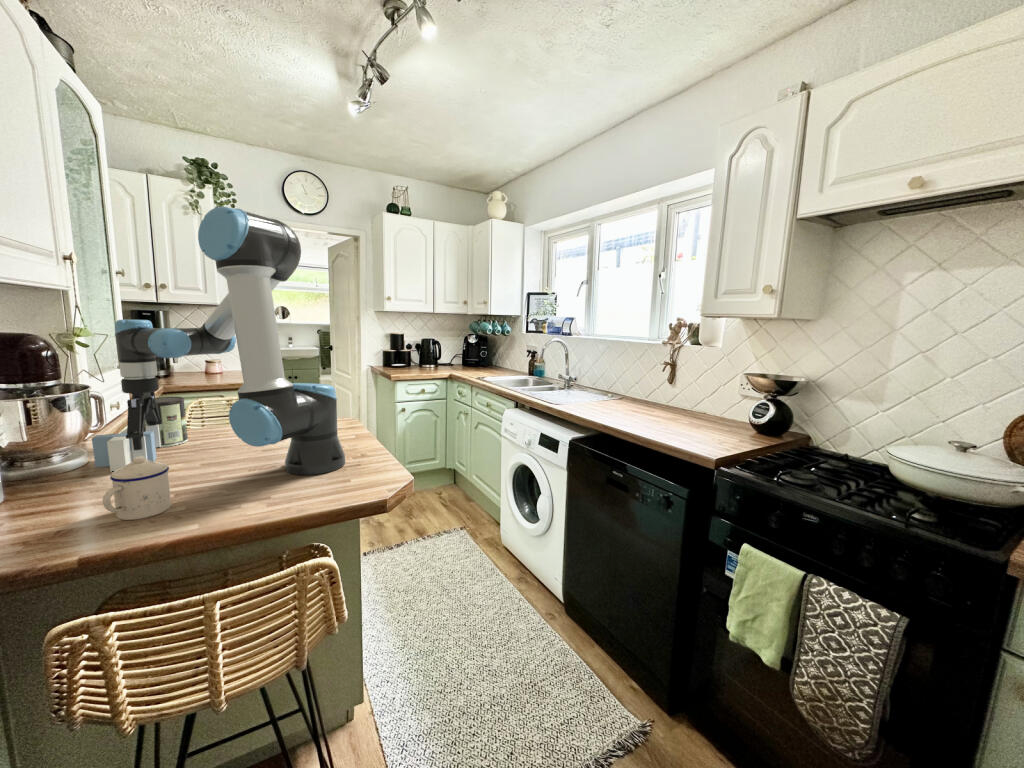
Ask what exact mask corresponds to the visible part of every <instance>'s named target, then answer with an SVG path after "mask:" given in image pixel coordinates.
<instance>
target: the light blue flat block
mask: <svg viewBox="0 0 1024 768" xmlns="http://www.w3.org/2000/svg"><path fill="white" fill-rule="evenodd" d="M126 435H127V433H121V432H120V433H108V434H96V435H94V436H92V437H91V444H92V450H93V452H92V453H93V458H94V465H95V468H103V467H110V463H109V455H108V447H107V442H108V441H109V440H110V439H112V438H113V437H122V436H126ZM143 436H145V442H146V451H147V460H150V461H153V462H155V461H156V460H157V452H156V451H157V450H156V448H155V439H154V431H146V430H145V431H144V433H143ZM129 443H130V450H131V449H132V445H131V438H129Z"/></svg>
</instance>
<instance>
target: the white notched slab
mask: <svg viewBox="0 0 1024 768" xmlns="http://www.w3.org/2000/svg"><path fill="white" fill-rule="evenodd" d="M120 433H127V428H125V429H123V430H122V431H121V432H120ZM107 447H108V455H109V463H110V466H109V469H110V470H109V471H110V472H111V473H113V472H112V471H115V470H117V469H119V468H122V467H124V466H126V465H127V464H129V463H132V462H133V454H132V449H131V450H130V443H129V439H126V436H122V437H113V438H112V439H110V440H109V441H108V442H107Z"/></svg>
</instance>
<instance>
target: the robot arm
mask: <svg viewBox="0 0 1024 768" xmlns="http://www.w3.org/2000/svg"><path fill="white" fill-rule="evenodd" d="M197 237H198V238H197V240H198V245H199V247H200V250H201V251H202V252H203V253H204V255H205V256H206V257H208V258H209V259H211V260H212V261H215V262H214V263H215V266H216V273H218V274H220V276H222V277H223V278H225V279H226V284H227V291H228V292H227V294H226V295H225V297H224V298H223V299H221V302H220V303H219V304H218V306H217V307H216V308H215V309H214V310H213V311H212V313H211V314H210V315H209V317H208V318H207V319H206V321H205V322H204V323H203V324H202V325H201V326H200V327H171V328H169V327H168V328H166V327H165V328H162V327H161V328H159V327H158V328H157V327H153V323H152V321H151V320H148V319H118V320H116V321H115V323H114V329H115V332H114V337H115V342H116V343H115V344H116V350H117V358H118V362H119V363H118V365H116V368H117V369H118V370H119V373H120V377H121V378H122V379H121V380H120V385H121V392H122V393H124V394H131V399H127V401H126V404H127V423H126V424H127V425H126V426H127V427H126V429H127V435H126V439H129V438H131V445H132V454H133V458H135V457H140V456H143V457H145V459H146V460H147V451H146V442H145V436H143V433H144V432H146V431H154V439H155V449H156V447H160V448H162V447H161V443H160V434H159V425H157V424H162V421H160V419H161V418H160V415H159V411H158V407H157V404H156V400H155V398H156V393H155V392H157V391H158V390H159V389H160V387H159V378H158V377H156V376H158V366H157V360H156V358H164V359H178V358H182V357H189V356H199V355H220V354H223V353H230V352H232V351H233V350H234V349H235V347H236V344H237V349H238V357H239V362H240V363H239V364H240V367H241V375H242V380H243V383H242V385H241V386H240V387H239V389H238V390H237V392H236V393H237V397H238V400H236V401H235V402H234V403H233V404H232V405H231V406H230V409H229V411H228V419H229V420H228V421H229V423H230V427H231V428H232V431H233V433H234V434H235V435H236V436H237V437H238V439H240V440H242V442H243V443H245V444H247V445H249V446H250V447H257V448H258V447H265V446H268V445H276V444H278V443H280V442H282V441H285V440H288V439H290V442H289V447H288V449H287V453H286V456H285V460H284V468H285V471H286V472H287V473H289V474H293V475H297V476H299V475H301V476H307V475H308V476H310V475H311V476H313V475H321V474H326V473H331V472H333V471H336V470H338V469H340V468H342V467H343V466H345V465H346V455H345V454H346V453H345V452H344V449H343V446H342V444H341V442H340V439H339V436H338V408H337V407H338V405H337V401H338V399H337V393H336V392H337V391H336V388H335V387H334V386H333V385H332V384H325V383H314V382H313V383H312V382H311V383H310V382H309V383H308V382H294V383H293V382H291V381H289V380H287V379H286V376H285V369H284V364H283V363H284V362H283V357H282V351H281V344H280V337H279V330H278V323H277V319H276V313H275V305H274V300H273V299H274V298H273V290H274V289H275V288H276V287H277V286H278V285H279V283H284V282H287V281H288V280H289V279H290V277H291V276H292V275H293V274H294V272H295V271H296V270H297V267H298V266H299V264H300V261H301V257H302V256H301V255H302V247H301V242H300V239H299V237H298V236H297V234H296V232H295V231H294V230H293V228H291V227H290V226H288V224H286V223H284V221H283V222H282V221H280V220H278V219H276V218H269V217H266V216H262V215H259V214H255V213H251V212H249V211H246V210H243V209H240V208H233V207H228V206H218V207H217V206H216V207H214V208H212V209H210V210H209V211H207V213H206V214H205V215H204V217H203V219H202V220H201V221H200V224H199V227H198V233H197ZM145 420H146V423H147V425H149V426H146V430H145ZM144 430H145V431H144Z"/></svg>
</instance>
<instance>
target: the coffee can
mask: <svg viewBox="0 0 1024 768" xmlns="http://www.w3.org/2000/svg"><path fill="white" fill-rule="evenodd" d="M155 400H156V404H157V407H158V411H159V415H160V418H161V419H160V421H162V424H157V425H159V434H160V443H161V447H160V448H169V447H168V446H170V447H175V445H176V446H180V445H183V444H186V443H187V442H189V437H188V429H187V426H188V425H187V419H186V409H185V397H182V396H161V397H160V396H159V397H155ZM146 426H149V425H147V423H146V420H145V424H144V430H145V431H146ZM179 444H180V445H179ZM156 448H158V447H156ZM156 448H155V449H156Z"/></svg>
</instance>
